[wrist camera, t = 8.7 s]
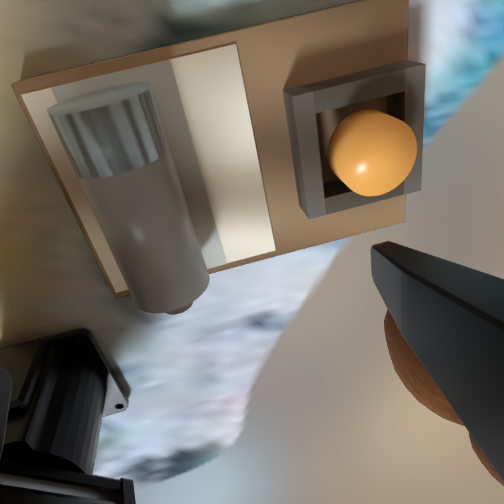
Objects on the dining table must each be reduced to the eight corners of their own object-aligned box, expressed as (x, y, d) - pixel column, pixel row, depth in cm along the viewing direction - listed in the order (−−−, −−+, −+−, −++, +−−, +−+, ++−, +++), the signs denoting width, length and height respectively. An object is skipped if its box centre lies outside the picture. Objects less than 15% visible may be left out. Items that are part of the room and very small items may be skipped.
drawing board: (395, 213, 21) (421, 235, 19) (117, 287, 20) (111, 318, 18) (395, -9, 16) (431, -12, 14) (19, 80, 15) (-6, 90, 13)
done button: (397, 173, 17) (416, 185, 16) (330, 190, 17) (343, 204, 16) (397, 101, 15) (418, 108, 14) (323, 119, 15) (337, 128, 14)
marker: (217, 276, 19) (211, 324, 16) (150, 286, 20) (133, 335, 17) (158, 77, 14) (134, 96, 12) (71, 95, 15) (27, 119, 12)
